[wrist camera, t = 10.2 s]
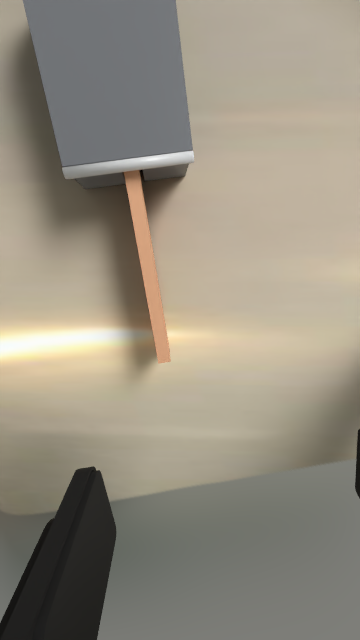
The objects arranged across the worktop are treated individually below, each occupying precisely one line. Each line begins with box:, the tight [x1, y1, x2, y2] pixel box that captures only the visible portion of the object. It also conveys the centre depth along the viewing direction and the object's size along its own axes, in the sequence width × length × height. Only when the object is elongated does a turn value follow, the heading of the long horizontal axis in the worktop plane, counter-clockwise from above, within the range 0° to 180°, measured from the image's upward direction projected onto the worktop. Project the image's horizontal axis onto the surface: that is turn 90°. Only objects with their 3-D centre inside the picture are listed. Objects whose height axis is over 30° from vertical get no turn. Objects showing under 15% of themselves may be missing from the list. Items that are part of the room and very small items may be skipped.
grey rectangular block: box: [23, 0, 194, 189], centre depth 19 cm, size 10×15×6 cm
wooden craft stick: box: [124, 170, 171, 363], centre depth 23 cm, size 1×19×4 cm, turn 8°
